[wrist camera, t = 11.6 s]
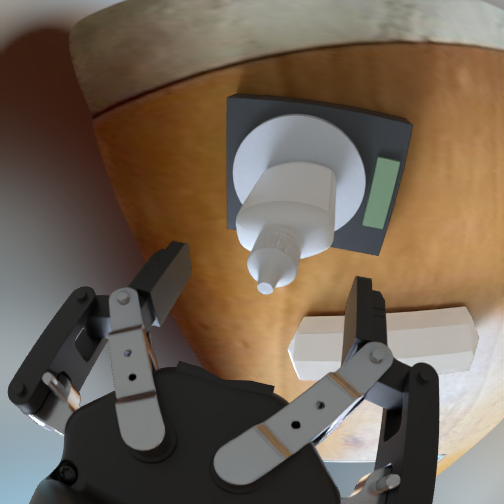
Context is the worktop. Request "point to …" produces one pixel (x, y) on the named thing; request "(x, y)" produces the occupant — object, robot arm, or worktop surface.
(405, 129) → the kitchen scale
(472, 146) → the worktop surface
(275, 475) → the robot arm
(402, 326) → the chamfered white bar
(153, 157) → the worktop surface
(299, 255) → the eye dropper bottle
